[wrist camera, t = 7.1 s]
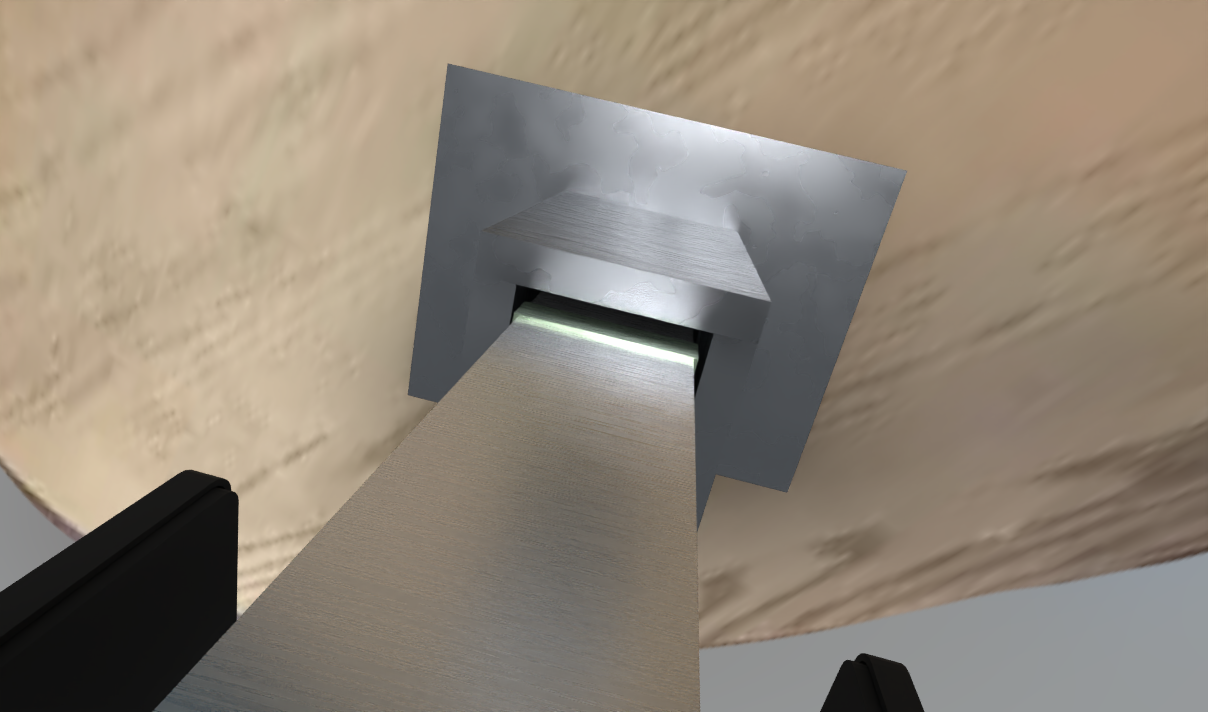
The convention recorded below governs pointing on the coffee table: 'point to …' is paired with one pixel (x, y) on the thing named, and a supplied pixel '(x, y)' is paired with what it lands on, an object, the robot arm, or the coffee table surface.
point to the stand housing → (652, 251)
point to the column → (500, 545)
